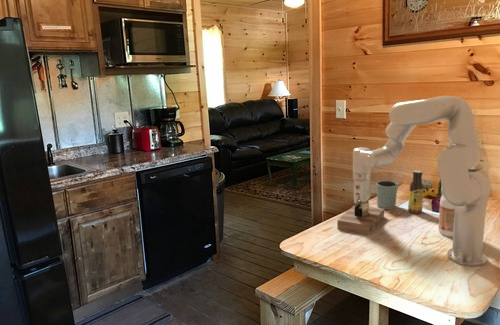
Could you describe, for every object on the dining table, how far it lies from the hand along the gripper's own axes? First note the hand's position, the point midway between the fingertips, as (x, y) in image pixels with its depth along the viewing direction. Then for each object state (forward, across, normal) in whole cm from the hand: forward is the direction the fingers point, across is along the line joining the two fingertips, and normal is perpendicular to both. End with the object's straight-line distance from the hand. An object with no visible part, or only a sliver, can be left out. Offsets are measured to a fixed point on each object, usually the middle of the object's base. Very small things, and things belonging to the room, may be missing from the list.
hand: (361, 213), depth 179 cm
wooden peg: (+4, 0, 0) cm, 4 cm away
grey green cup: (+5, +26, -4) cm, 27 cm away
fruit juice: (+5, +5, -36) cm, 37 cm away
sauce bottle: (+5, +24, -18) cm, 30 cm away
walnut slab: (+5, 0, 0) cm, 5 cm away
